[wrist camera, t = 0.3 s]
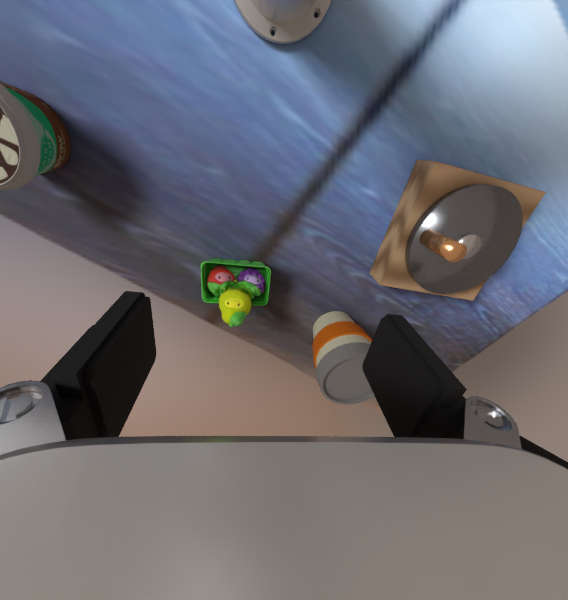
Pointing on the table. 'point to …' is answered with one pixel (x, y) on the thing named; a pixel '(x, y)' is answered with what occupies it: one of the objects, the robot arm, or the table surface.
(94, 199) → the table surface
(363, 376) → the reusable coffee cup
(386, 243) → the block
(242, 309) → the fruit basket
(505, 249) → the handwheel
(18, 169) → the food container
